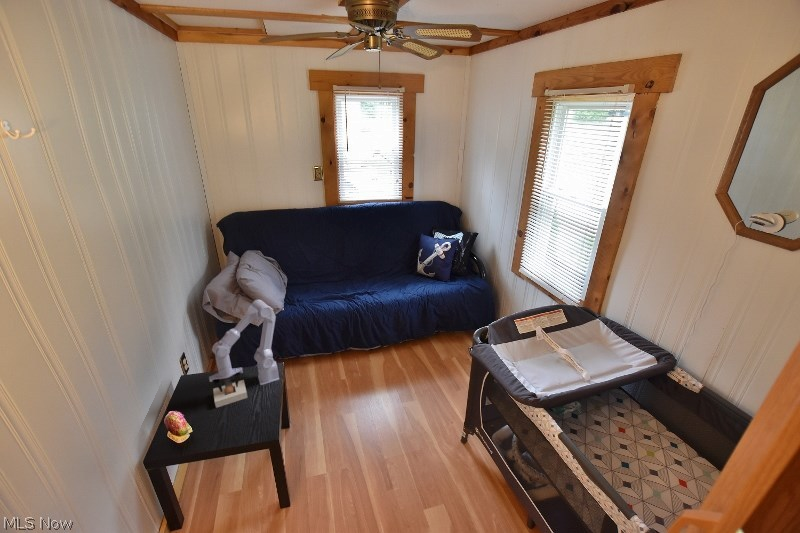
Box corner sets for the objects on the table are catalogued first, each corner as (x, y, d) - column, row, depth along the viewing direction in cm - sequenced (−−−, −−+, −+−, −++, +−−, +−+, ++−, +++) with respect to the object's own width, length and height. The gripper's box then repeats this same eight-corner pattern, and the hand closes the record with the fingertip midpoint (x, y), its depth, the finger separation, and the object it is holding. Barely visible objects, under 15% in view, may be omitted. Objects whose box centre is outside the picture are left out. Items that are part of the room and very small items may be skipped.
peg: (235, 393, 181) (232, 378, 178) (233, 398, 178) (230, 383, 175) (228, 394, 181) (224, 379, 177) (226, 398, 178) (223, 384, 174)
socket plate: (244, 385, 187) (243, 379, 185) (247, 397, 179) (246, 392, 177) (214, 394, 180) (213, 388, 179) (216, 407, 172) (214, 402, 171)
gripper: (239, 356, 179) (243, 378, 184) (206, 365, 172) (212, 388, 177) (241, 364, 173) (246, 387, 178) (207, 374, 166) (213, 397, 172)
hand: (229, 388), depth 177 cm, fingers open, 6 cm apart
